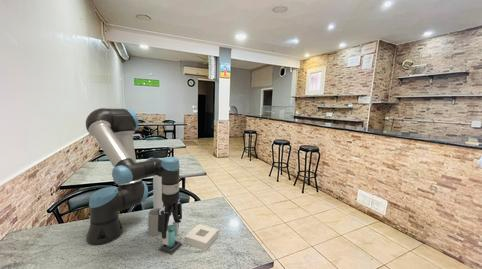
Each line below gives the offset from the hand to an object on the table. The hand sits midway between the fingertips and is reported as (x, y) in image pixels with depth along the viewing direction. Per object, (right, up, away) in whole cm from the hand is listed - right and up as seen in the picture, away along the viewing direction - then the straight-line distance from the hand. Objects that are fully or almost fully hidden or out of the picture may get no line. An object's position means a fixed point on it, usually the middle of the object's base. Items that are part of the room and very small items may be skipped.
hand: (170, 239), depth 93 cm
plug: (0, -4, 0) cm, 4 cm away
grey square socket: (0, -4, +1) cm, 4 cm away
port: (+13, -4, +7) cm, 16 cm away
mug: (-12, -3, +15) cm, 19 cm away
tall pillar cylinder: (-17, 0, +34) cm, 38 cm away
